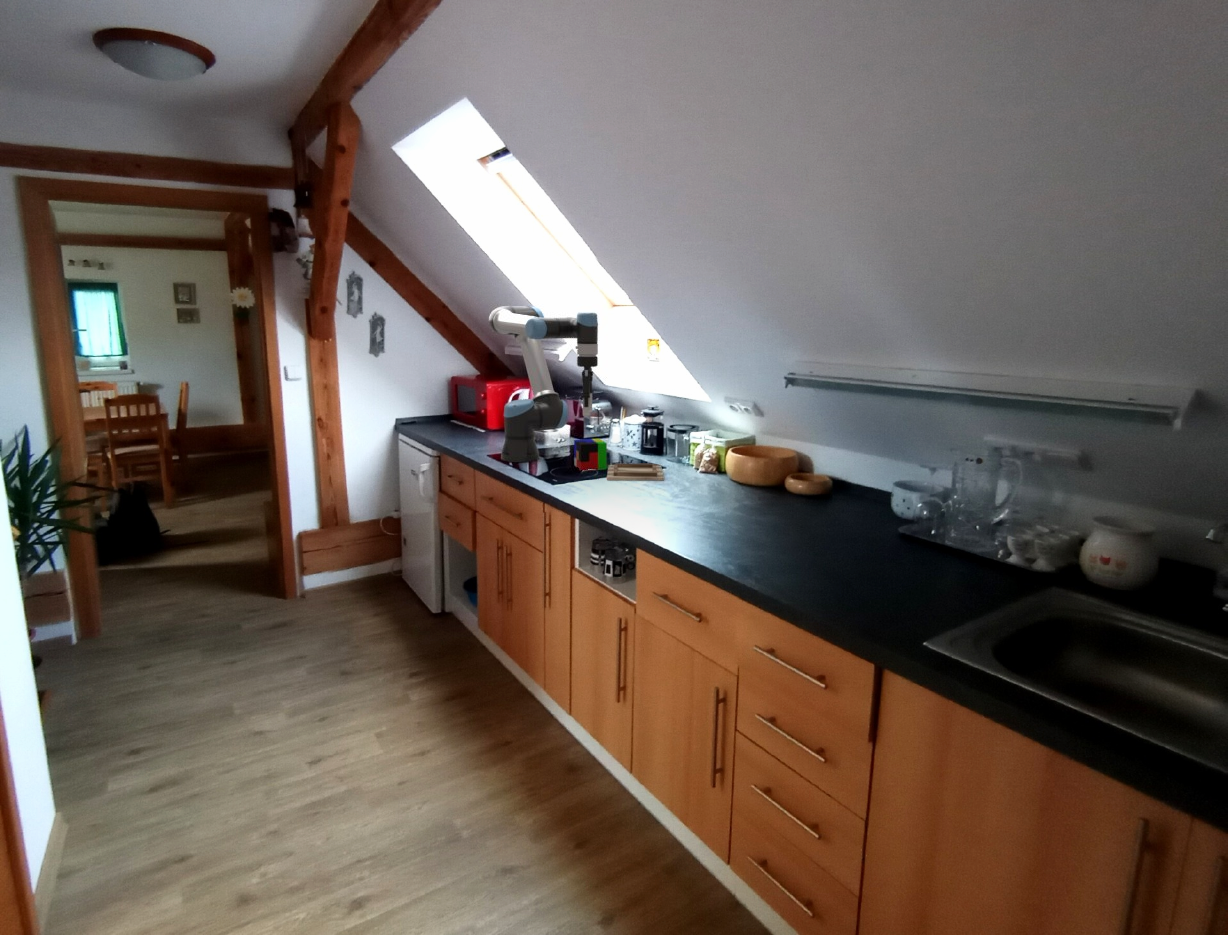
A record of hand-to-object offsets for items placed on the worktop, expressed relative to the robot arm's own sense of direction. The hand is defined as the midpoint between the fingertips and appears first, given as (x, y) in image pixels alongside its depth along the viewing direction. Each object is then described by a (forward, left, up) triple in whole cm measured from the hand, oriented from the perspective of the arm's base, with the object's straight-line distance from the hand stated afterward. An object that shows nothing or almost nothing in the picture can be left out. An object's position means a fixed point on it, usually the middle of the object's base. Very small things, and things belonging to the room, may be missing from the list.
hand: (587, 413), depth 260 cm
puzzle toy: (-2, +1, -21) cm, 21 cm away
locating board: (+9, +18, -21) cm, 29 cm away
